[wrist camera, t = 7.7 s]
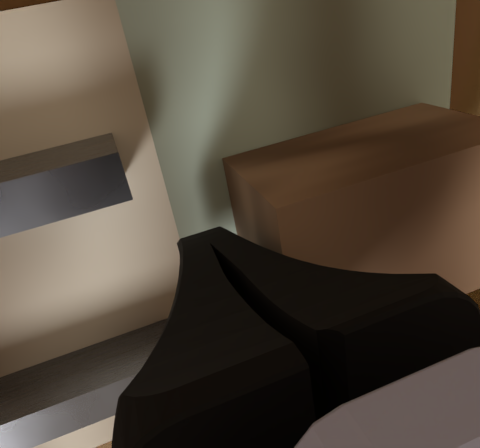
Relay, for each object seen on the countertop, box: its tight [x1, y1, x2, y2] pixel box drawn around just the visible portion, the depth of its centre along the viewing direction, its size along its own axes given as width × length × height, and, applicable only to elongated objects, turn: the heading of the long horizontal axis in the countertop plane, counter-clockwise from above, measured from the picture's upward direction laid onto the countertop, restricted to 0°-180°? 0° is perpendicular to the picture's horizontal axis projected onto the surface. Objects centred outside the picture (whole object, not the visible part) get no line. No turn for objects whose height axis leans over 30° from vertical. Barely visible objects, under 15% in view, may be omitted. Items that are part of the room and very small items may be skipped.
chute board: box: [0, 0, 456, 448], centre depth 14 cm, size 24×14×1 cm, turn 100°
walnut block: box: [222, 103, 480, 294], centre depth 13 cm, size 7×5×4 cm, turn 100°
